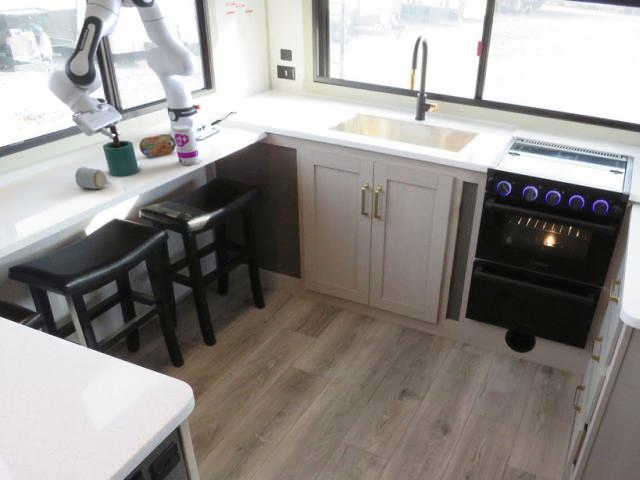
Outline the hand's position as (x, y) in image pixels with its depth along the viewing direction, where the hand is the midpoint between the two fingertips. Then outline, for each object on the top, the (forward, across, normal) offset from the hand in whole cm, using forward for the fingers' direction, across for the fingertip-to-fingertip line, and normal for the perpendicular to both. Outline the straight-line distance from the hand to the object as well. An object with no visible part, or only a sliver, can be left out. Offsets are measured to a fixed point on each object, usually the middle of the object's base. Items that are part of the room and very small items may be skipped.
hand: (116, 136), depth 226 cm
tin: (+12, +22, +9) cm, 26 cm away
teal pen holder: (+10, 0, +11) cm, 15 cm away
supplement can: (+24, +16, -4) cm, 29 cm away
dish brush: (+8, 0, +9) cm, 12 cm away
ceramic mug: (+9, -17, +12) cm, 22 cm away
